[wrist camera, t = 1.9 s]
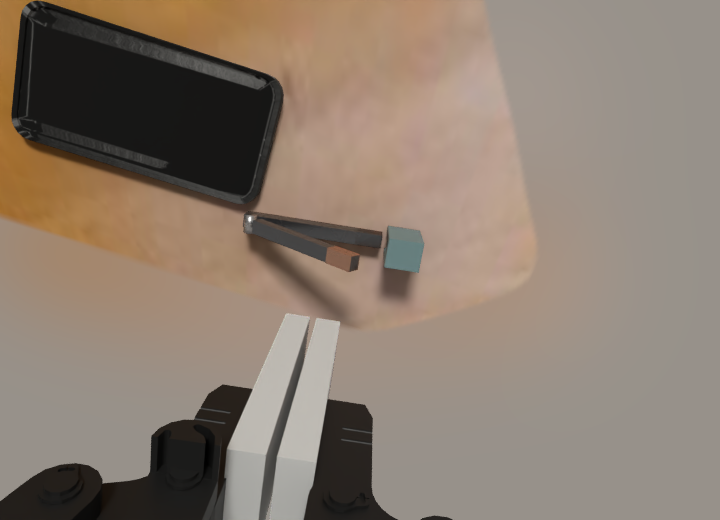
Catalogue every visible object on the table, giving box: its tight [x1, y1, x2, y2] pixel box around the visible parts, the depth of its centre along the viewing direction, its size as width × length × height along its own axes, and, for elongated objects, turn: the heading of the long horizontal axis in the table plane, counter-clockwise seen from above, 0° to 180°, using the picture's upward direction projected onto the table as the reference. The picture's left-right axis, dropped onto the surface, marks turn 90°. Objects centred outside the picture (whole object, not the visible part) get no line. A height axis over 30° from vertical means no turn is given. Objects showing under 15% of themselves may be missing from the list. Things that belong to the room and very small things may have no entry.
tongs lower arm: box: [243, 211, 382, 248], centre depth 31 cm, size 8×1×1 cm, turn 81°
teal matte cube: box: [384, 226, 424, 273], centre depth 30 cm, size 2×2×3 cm
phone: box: [12, 1, 284, 204], centre depth 30 cm, size 8×1×15 cm
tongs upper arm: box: [243, 213, 360, 272], centre depth 28 cm, size 8×1×1 cm
